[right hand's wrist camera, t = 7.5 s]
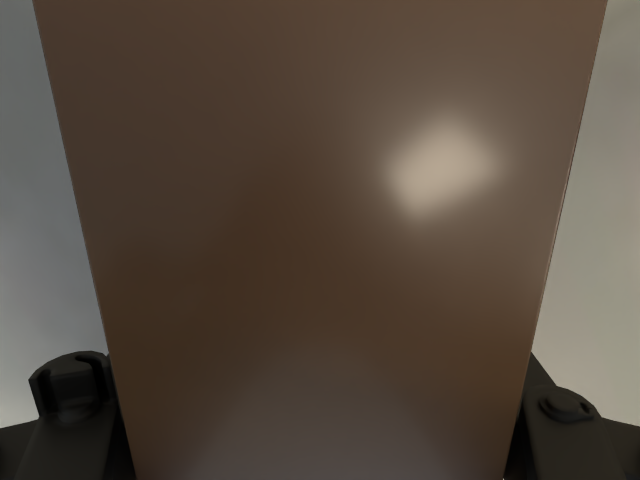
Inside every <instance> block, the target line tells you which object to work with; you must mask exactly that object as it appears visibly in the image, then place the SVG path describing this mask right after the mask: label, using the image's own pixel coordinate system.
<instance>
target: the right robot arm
mask: <svg viewBox="0 0 640 480" xmlns="http://www.w3.org/2000/svg"><path fill="white" fill-rule="evenodd" d="M28 381H29V384H30V387H31V391H32V394H33V397H34V400H35V404H36V407H37V410H38V413H39V419H37V420H34V421H30V422H27V423H22V424H18V425H13V426H9V427H4V428H0V480H136V475H135V470H134V466H133V461H132V457H131V452H130V447H129V443H128V438H127V434H126V429H125V424H124V420H123V415H122V411H121V406H120V401H119V397H118V392H117V388H116V383H115V378H114V374H113V369H112V365H111V360H110V355H109V354H108V355H107V356H105V355H104V354H103V353H99V352H95V351H78V352H74V353H70V354H66V355H62V356H60V357H58V358H55V359H53V360H51V361H49V362H47V363H46V364H44V365H43V366H41V367H40V368H38V369H37V370H36V371H35V372H34V373H33V374H32V376H31V377H30V378H29V379H28ZM503 478H504V480H640V427H639V426H635V425H630V424H626V423H622V422H617V421H613V420H609V419H606V418H602V417H601V416H600V414H599V413H598V411H597V410H596V408H595V407H594V405H592V404H591V403H590V402H589V401H587V400H586V399H585V398H584V397H582V396H580V395H578V394H576V393H575V392H573V391H571V390H569V389H565V388H562V387H558V386H556V384H555V383H554V382H553V380H552V379H551V378H550V376H549V375H548V374H547V372H546V371H545V370H544V368H543V367H542V366H541V364H540V363H539V362H538V360H537V359H536V357H535V356H534V355H533V353H532V352H531V353H530V358H529V362H528V367H527V371H526V376H525V381H524V385H523V390H522V394H521V399H520V403H519V408H518V413H517V417H516V422H515V426H514V431H513V436H512V440H511V445H510V449H509V454H508V458H507V463H506V468H505V472H504V477H503Z"/></svg>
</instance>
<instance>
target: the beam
mask: <svg viewBox="0 0 640 480" xmlns="http://www.w3.org/2000/svg"><path fill="white" fill-rule="evenodd" d="M32 1H33V6H34V11H35V15H36V20H37V24H38V29H39V33H40V38H41V43H42V47H43V52H44V56H45V61H46V66H47V70H48V75H49V79H50V84H51V89H52V93H53V98H54V102H55V107H56V112H57V116H58V121H59V125H60V130H61V135H62V139H63V144H64V148H65V153H66V158H67V162H68V167H69V171H70V176H71V181H72V185H73V190H74V194H75V199H76V204H77V208H78V213H79V217H80V222H81V227H82V231H83V236H84V240H85V245H86V250H87V254H88V259H89V263H90V268H91V273H92V277H93V282H94V286H95V291H96V296H97V300H98V305H99V309H100V314H101V319H102V323H103V328H104V332H105V337H106V342H107V346H108V351H109V355H110V360H111V365H112V369H113V374H114V378H115V383H116V388H117V392H118V397H119V401H120V406H121V411H122V415H123V420H124V424H125V429H126V434H127V438H128V443H129V447H130V452H131V457H132V461H133V466H134V470H135V475H136V480H503V477H504V472H505V468H506V463H507V458H508V454H509V449H510V445H511V440H512V436H513V431H514V426H515V422H516V417H517V413H518V408H519V403H520V399H521V394H522V390H523V385H524V381H525V376H526V371H527V367H528V362H529V358H530V353H531V349H532V344H533V339H534V335H535V330H536V326H537V321H538V317H539V312H540V307H541V303H542V298H543V294H544V289H545V284H546V280H547V275H548V271H549V266H550V262H551V257H552V252H553V248H554V243H555V239H556V234H557V230H558V225H559V220H560V216H561V211H562V207H563V202H564V197H565V193H566V188H567V184H568V179H569V175H570V170H571V165H572V161H573V156H574V152H575V147H576V143H577V138H578V133H579V129H580V124H581V120H582V115H583V111H584V106H585V101H586V97H587V92H588V88H589V83H590V78H591V74H592V69H593V65H594V60H595V56H596V51H597V46H598V42H599V37H600V33H601V28H602V24H603V19H604V14H605V10H606V5H607V1H608V0H32Z"/></svg>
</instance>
